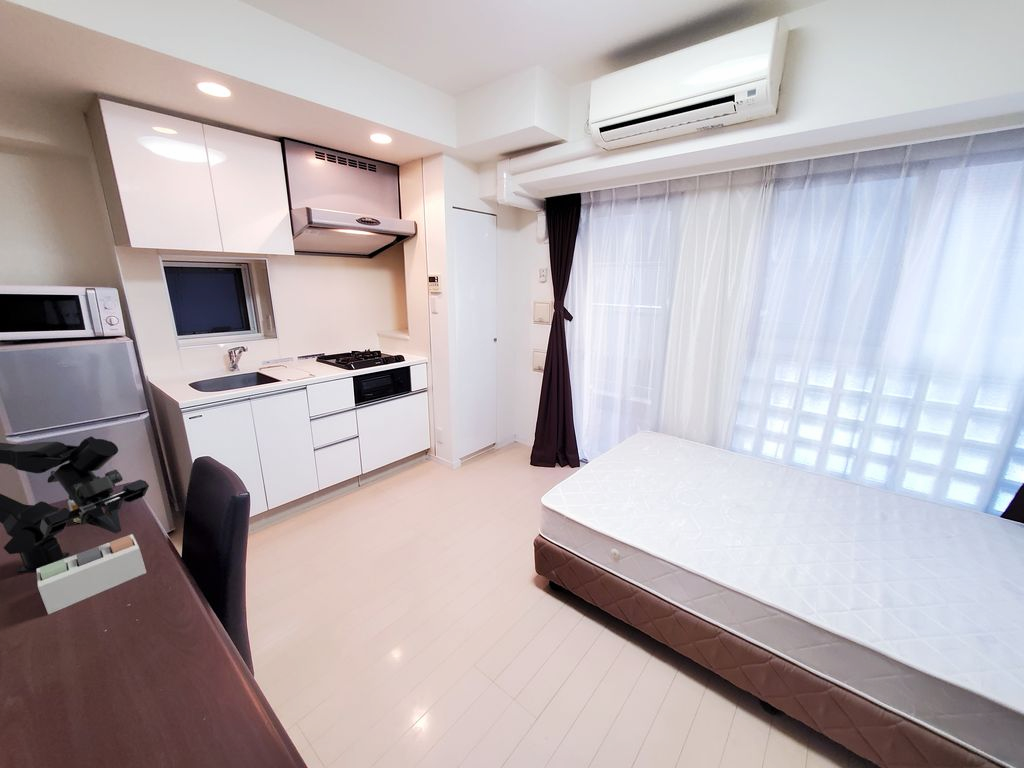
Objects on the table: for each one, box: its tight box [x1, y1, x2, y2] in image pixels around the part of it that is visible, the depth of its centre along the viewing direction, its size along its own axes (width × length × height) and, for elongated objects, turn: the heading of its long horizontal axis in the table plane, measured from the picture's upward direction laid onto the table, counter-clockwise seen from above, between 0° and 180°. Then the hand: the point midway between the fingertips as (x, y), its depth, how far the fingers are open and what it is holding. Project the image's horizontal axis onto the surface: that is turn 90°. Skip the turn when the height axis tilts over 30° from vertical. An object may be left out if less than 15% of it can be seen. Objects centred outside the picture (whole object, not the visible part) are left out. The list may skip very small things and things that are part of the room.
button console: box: [36, 533, 147, 615], centre depth 93 cm, size 9×16×7 cm, turn 141°
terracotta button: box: [110, 534, 134, 553], centre depth 96 cm, size 4×4×2 cm
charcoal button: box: [75, 546, 102, 566], centre depth 92 cm, size 4×4×2 cm
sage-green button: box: [40, 558, 68, 580], centre depth 88 cm, size 4×4×2 cm
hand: (118, 532), depth 96 cm, fingers closed
